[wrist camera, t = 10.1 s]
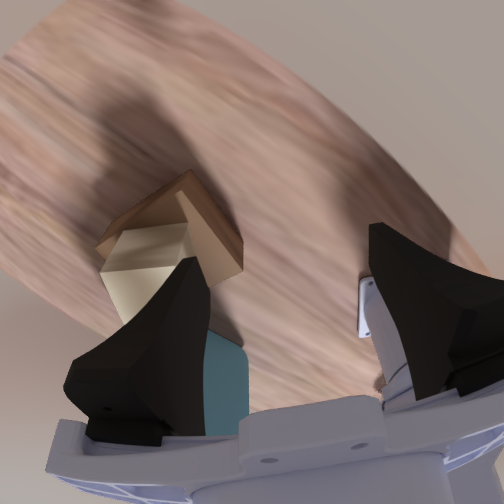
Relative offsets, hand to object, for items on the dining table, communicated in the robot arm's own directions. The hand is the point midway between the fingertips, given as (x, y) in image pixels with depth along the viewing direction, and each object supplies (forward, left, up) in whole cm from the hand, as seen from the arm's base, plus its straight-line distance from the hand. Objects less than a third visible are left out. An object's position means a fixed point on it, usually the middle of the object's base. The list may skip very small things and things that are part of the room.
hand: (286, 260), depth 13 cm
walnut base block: (+8, +3, -11) cm, 14 cm away
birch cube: (+8, +3, -7) cm, 11 cm away
